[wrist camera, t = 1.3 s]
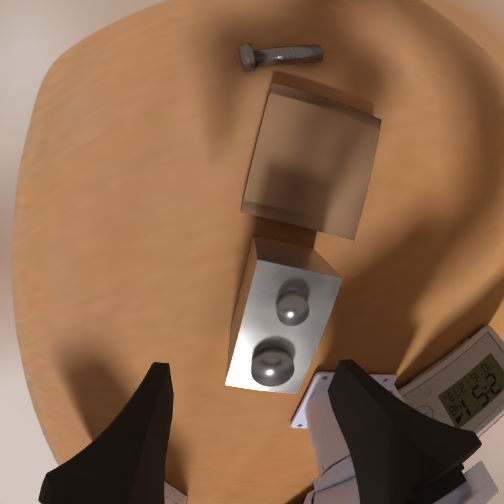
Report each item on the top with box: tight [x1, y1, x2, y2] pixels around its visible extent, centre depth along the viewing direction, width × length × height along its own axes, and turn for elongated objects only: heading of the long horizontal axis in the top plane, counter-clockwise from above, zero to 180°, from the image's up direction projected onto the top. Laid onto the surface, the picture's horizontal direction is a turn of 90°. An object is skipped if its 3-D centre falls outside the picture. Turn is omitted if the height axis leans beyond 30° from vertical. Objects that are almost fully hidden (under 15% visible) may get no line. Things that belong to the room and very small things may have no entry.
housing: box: [226, 235, 343, 394], centre depth 17 cm, size 4×8×7 cm, turn 167°
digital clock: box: [398, 325, 504, 438], centre depth 19 cm, size 16×9×11 cm, turn 106°
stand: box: [240, 83, 381, 240], centre depth 17 cm, size 8×9×2 cm
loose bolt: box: [238, 43, 323, 73], centre depth 15 cm, size 6×2×2 cm, turn 102°
